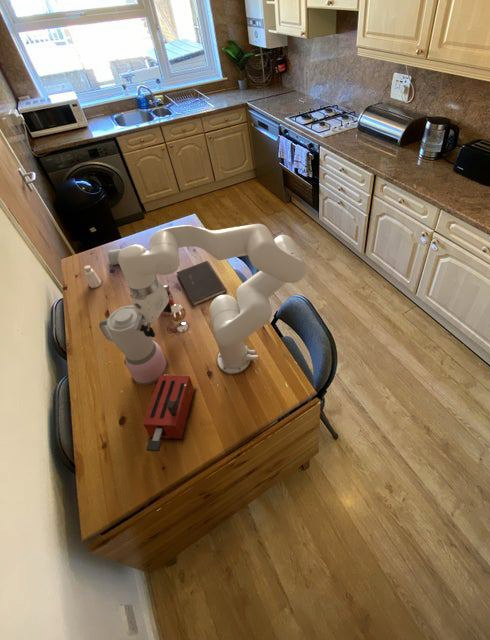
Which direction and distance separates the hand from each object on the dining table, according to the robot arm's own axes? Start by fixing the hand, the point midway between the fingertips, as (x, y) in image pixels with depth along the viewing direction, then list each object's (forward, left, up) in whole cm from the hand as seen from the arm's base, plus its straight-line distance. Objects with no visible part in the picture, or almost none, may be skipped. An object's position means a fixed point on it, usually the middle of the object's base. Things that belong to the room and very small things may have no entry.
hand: (159, 323), depth 107 cm
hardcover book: (+3, -46, -30) cm, 55 cm away
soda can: (+14, -30, -30) cm, 44 cm away
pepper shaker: (+54, -45, -30) cm, 76 cm away
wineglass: (+5, -21, -30) cm, 37 cm away
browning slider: (-6, +18, -19) cm, 27 cm away
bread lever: (-2, +25, -22) cm, 33 cm away
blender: (+13, -1, -30) cm, 33 cm away
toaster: (-2, +14, -30) cm, 33 cm away
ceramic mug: (+49, -62, -30) cm, 84 cm away
